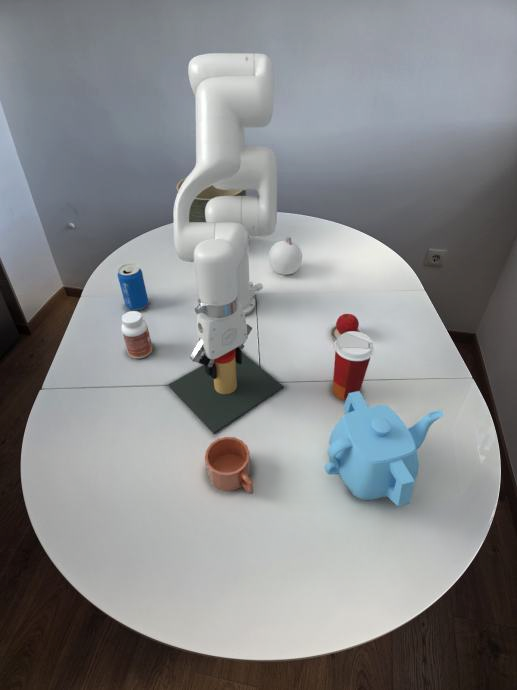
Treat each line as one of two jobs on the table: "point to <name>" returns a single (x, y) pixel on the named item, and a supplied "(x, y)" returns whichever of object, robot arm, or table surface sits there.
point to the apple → (344, 325)
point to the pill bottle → (136, 335)
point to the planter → (207, 200)
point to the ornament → (285, 257)
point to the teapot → (376, 450)
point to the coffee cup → (350, 362)
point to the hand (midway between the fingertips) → (224, 367)
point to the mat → (225, 407)
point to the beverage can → (132, 286)
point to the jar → (226, 373)
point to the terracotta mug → (229, 464)
